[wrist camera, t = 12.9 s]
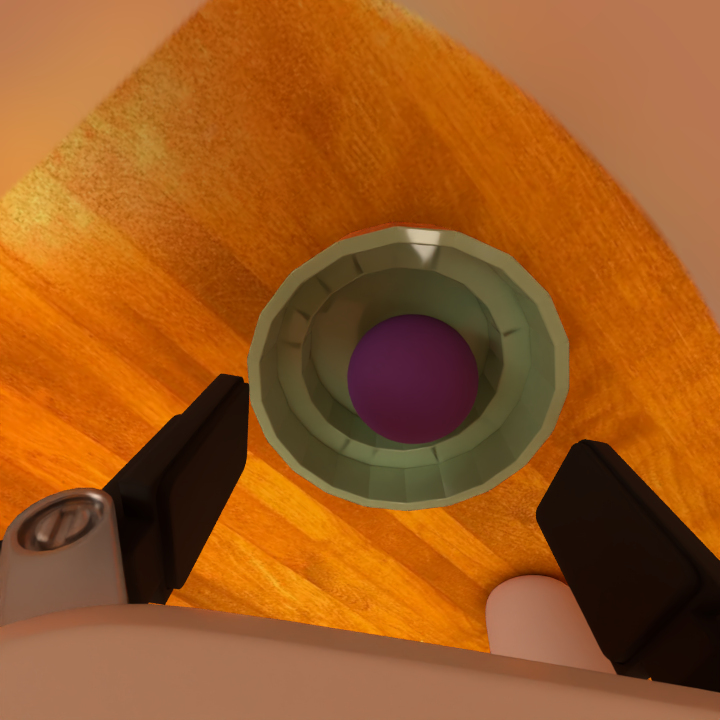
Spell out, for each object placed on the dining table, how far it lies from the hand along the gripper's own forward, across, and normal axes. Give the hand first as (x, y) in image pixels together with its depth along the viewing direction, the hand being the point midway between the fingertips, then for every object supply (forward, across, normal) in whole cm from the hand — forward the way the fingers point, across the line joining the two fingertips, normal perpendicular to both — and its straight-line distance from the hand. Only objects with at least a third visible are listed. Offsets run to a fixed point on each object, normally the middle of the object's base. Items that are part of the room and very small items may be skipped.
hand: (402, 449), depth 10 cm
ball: (+5, -1, 0) cm, 5 cm away
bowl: (+8, 0, 0) cm, 8 cm away
